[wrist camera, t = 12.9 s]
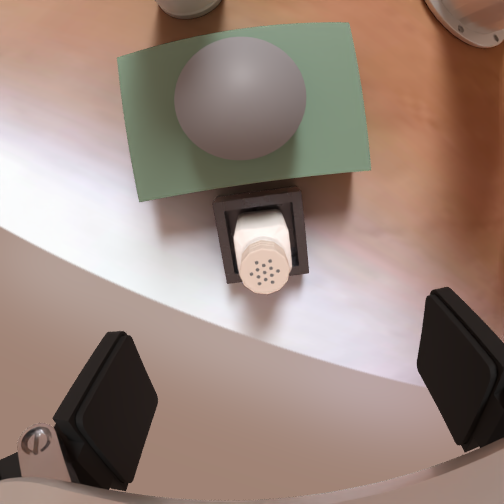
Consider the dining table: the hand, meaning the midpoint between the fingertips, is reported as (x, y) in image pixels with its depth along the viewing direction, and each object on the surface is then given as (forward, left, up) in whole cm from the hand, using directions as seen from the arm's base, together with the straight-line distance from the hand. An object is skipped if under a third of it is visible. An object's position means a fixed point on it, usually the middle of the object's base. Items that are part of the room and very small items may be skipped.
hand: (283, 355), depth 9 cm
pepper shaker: (+1, +2, -21) cm, 21 cm away
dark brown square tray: (+1, +2, -21) cm, 21 cm away
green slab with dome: (+1, -9, -21) cm, 23 cm away
